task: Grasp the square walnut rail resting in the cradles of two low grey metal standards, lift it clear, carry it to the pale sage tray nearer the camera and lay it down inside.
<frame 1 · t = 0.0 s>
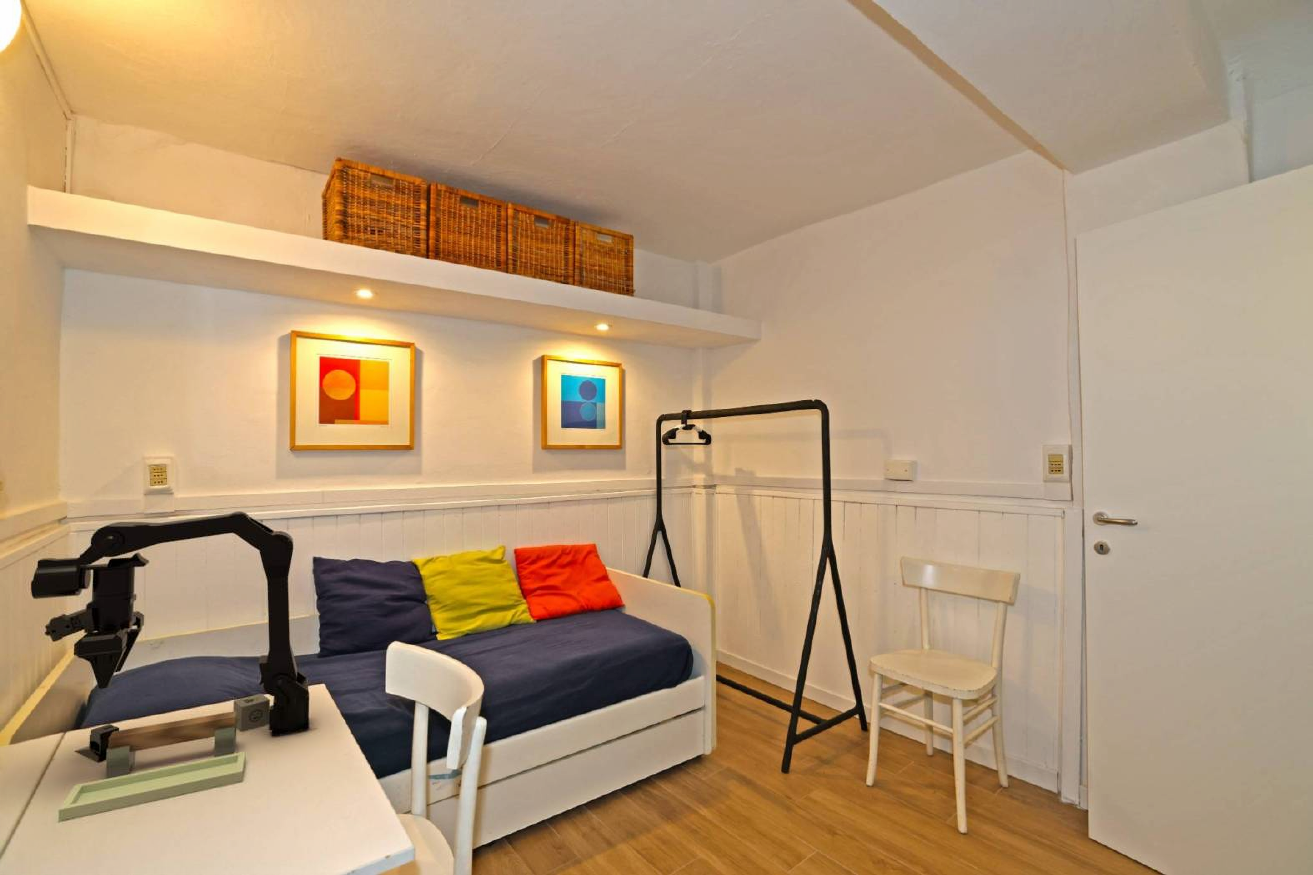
hand: (110, 679, 110), 15 cm above the table, fingers open, 9 cm apart
standard a: (225, 750, 115), on the table
rail: (175, 740, 111), point 3 cm above the table, touching standard a, standard b
tray: (160, 788, 102), on the table
standard b: (120, 770, 107), on the table
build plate: (104, 754, 114), on the table
dice cube: (251, 725, 126), on the table
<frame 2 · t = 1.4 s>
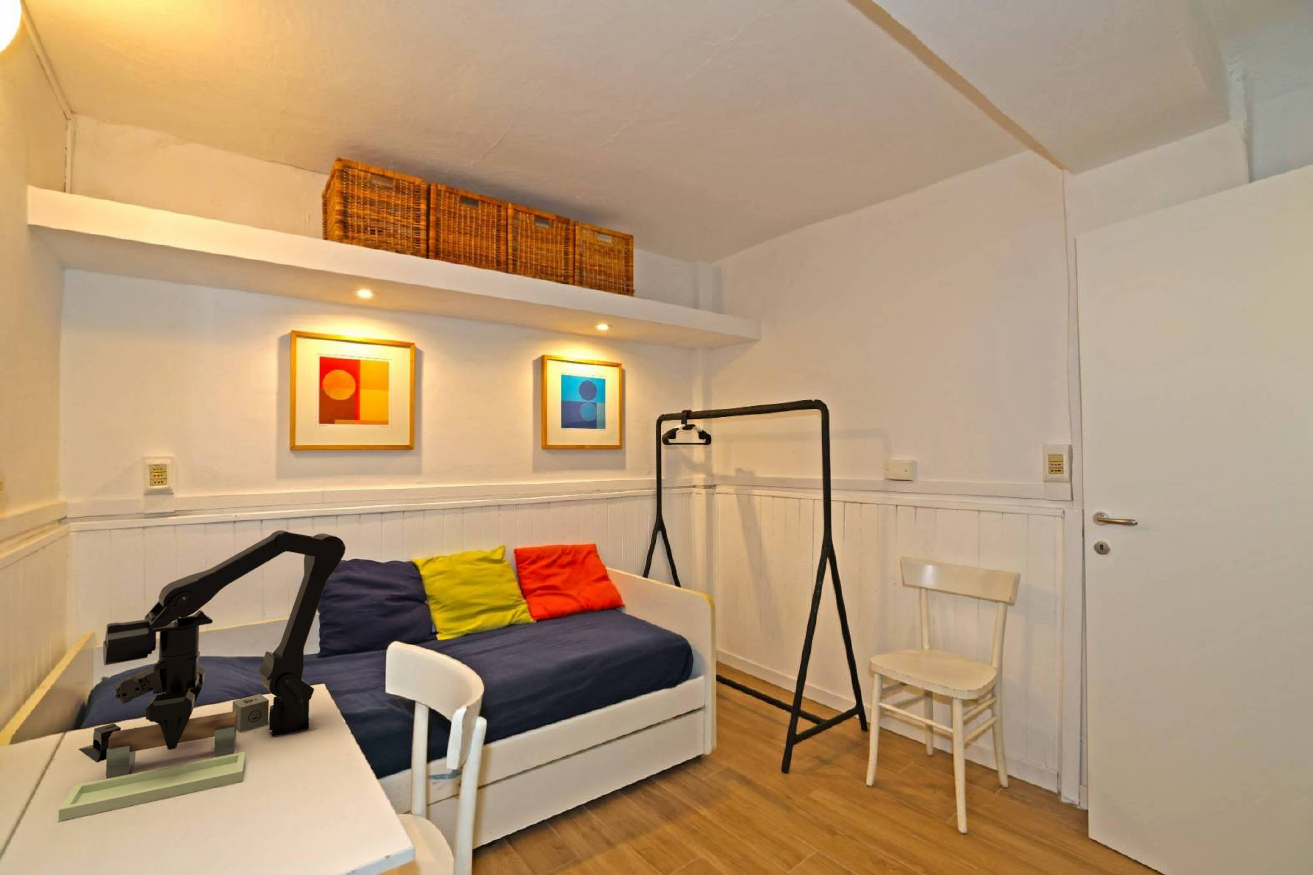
hand: (176, 738, 111), 4 cm above the table, fingers open, 9 cm apart
nothing on the table moved.
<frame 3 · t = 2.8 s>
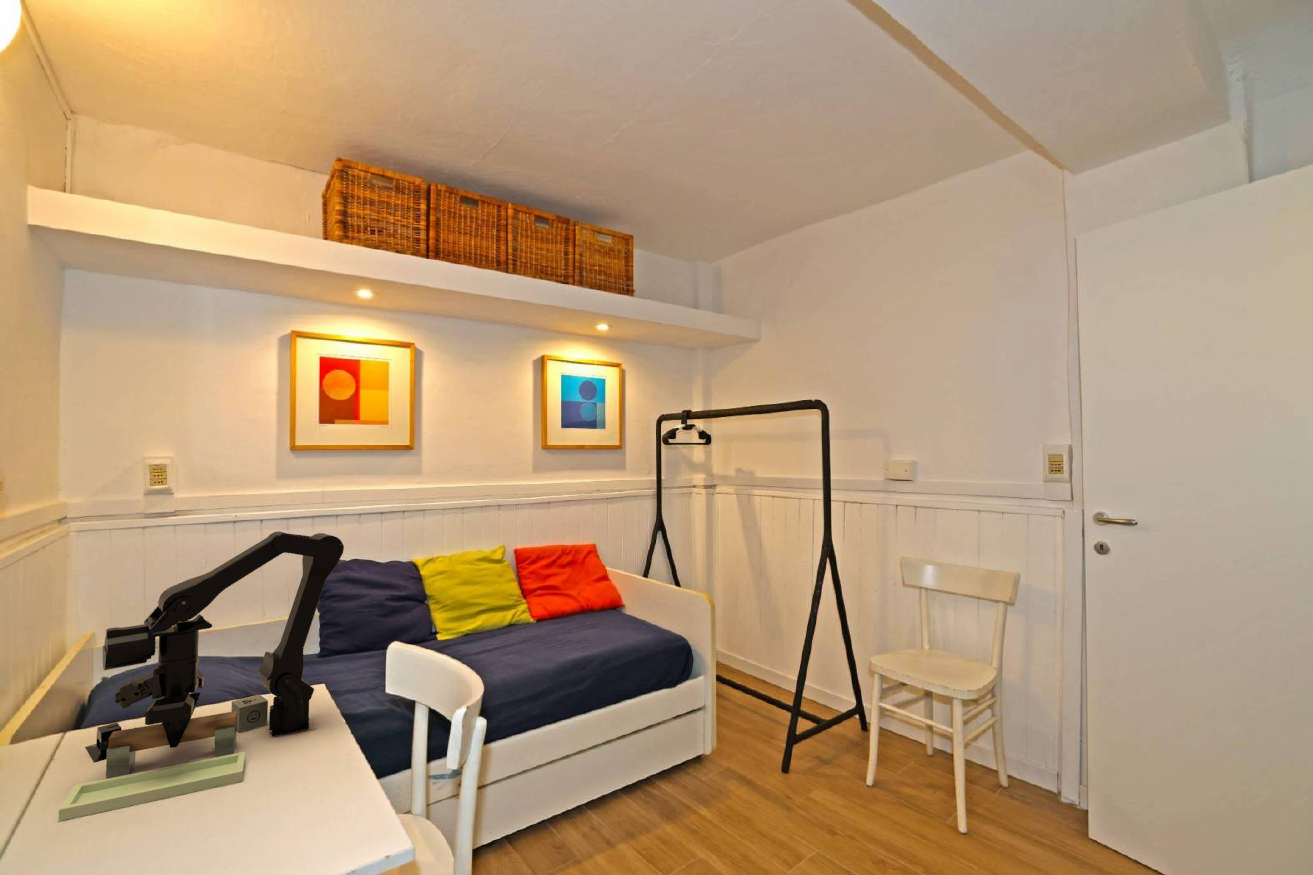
hand: (175, 743, 111), 3 cm above the table, fingers closed on rail, 3 cm apart
rail: (175, 740, 111), point 3 cm above the table, touching gripper, standard a, standard b
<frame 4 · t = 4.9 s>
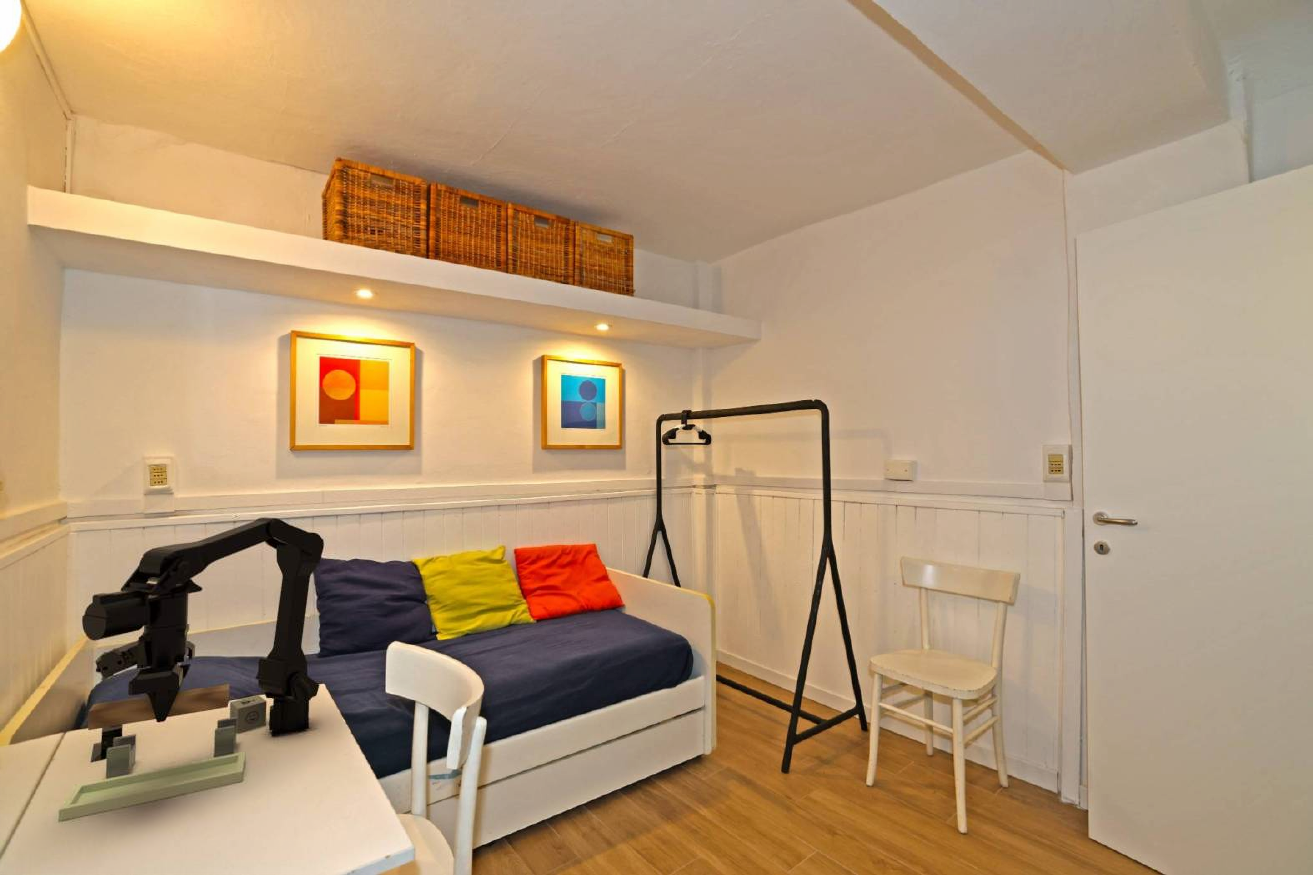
hand: (163, 717, 102), 12 cm above the table, fingers closed on rail, 3 cm apart
rail: (162, 714, 102), point 12 cm above the table, touching gripper
when the fingers open (2 cm above the table, at t = 7.1 s): rail drops 2 cm, resting on tray.
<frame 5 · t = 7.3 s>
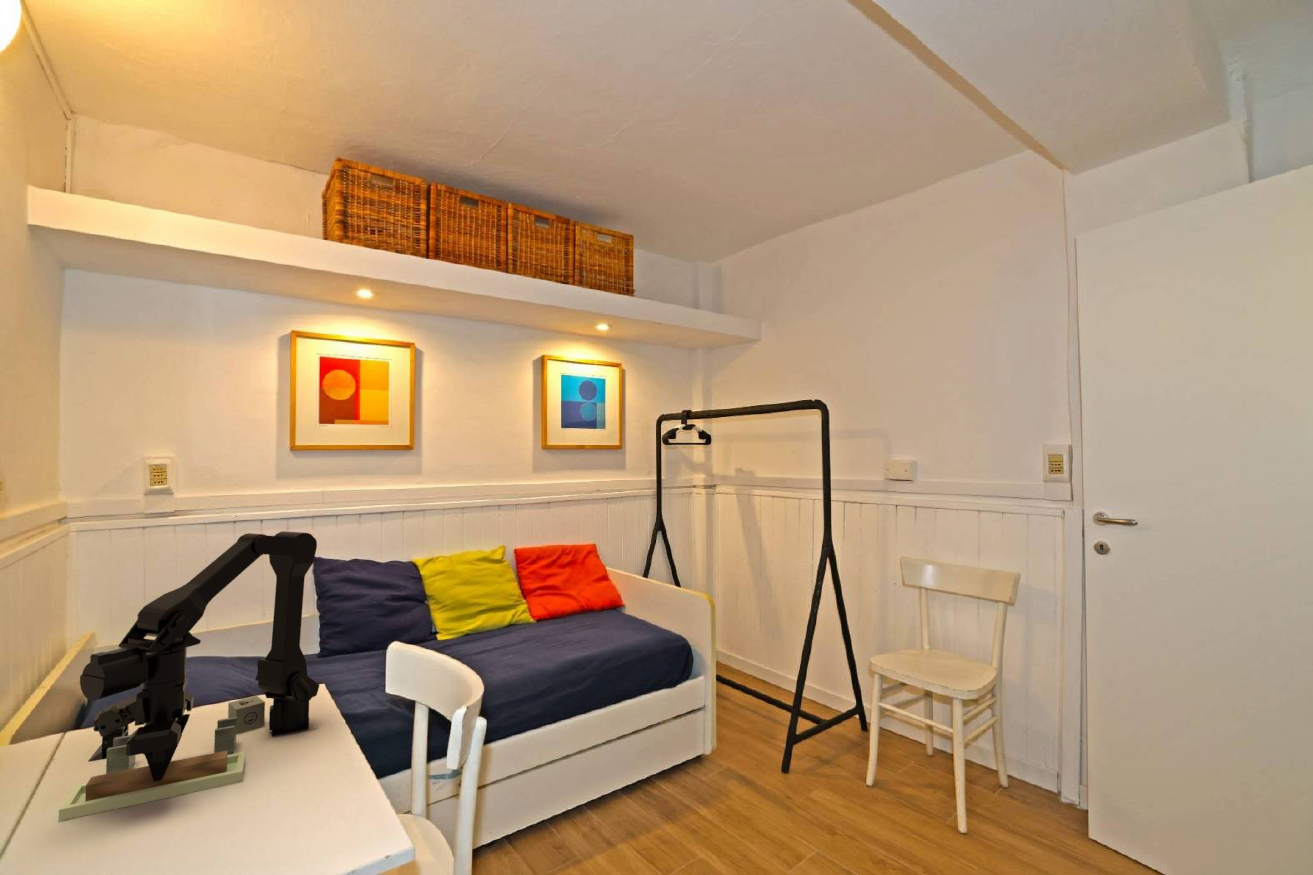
hand: (161, 772, 102), 2 cm above the table, fingers open, 5 cm apart
rail: (160, 785, 102), resting on tray
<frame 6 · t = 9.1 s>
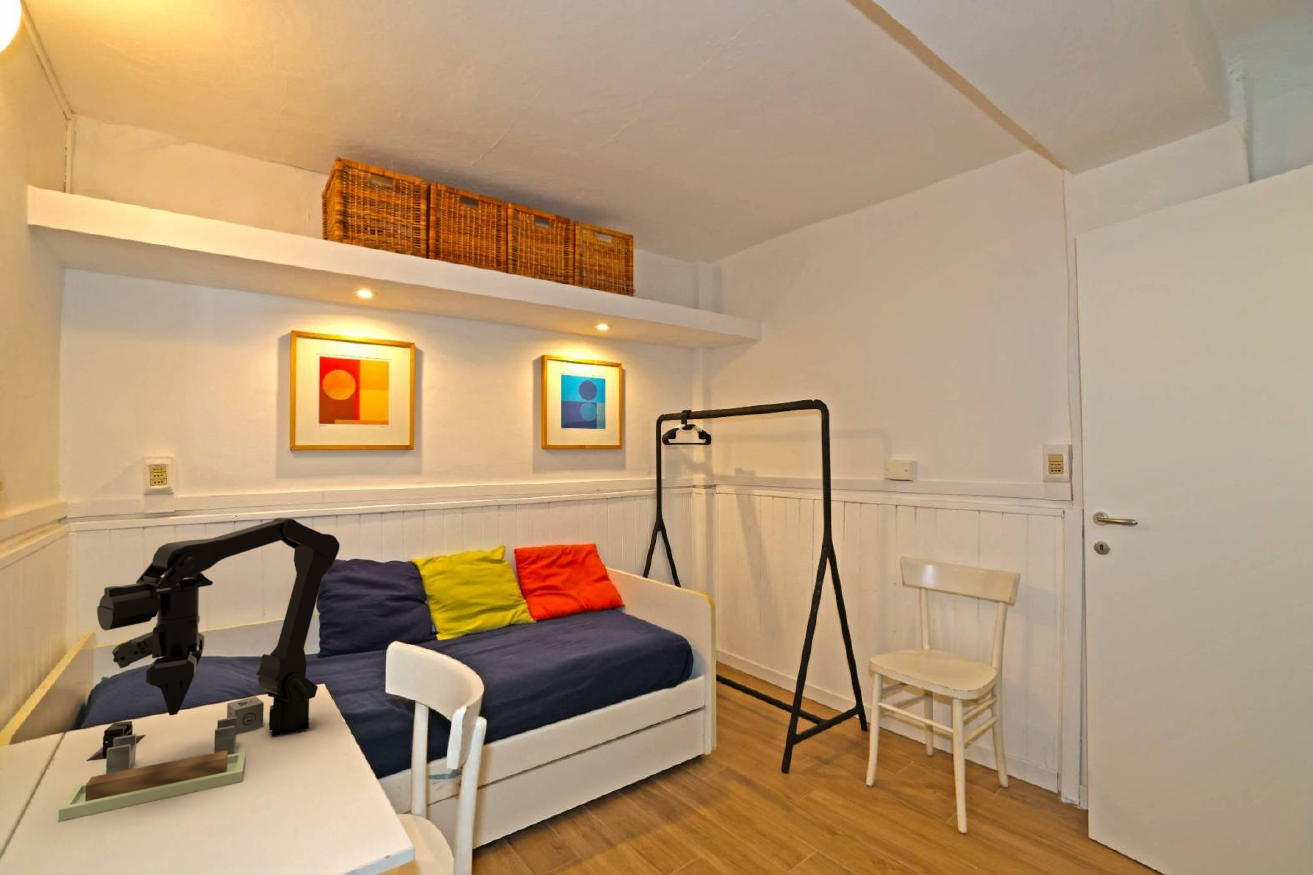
hand: (177, 704, 107), 12 cm above the table, fingers open, 9 cm apart
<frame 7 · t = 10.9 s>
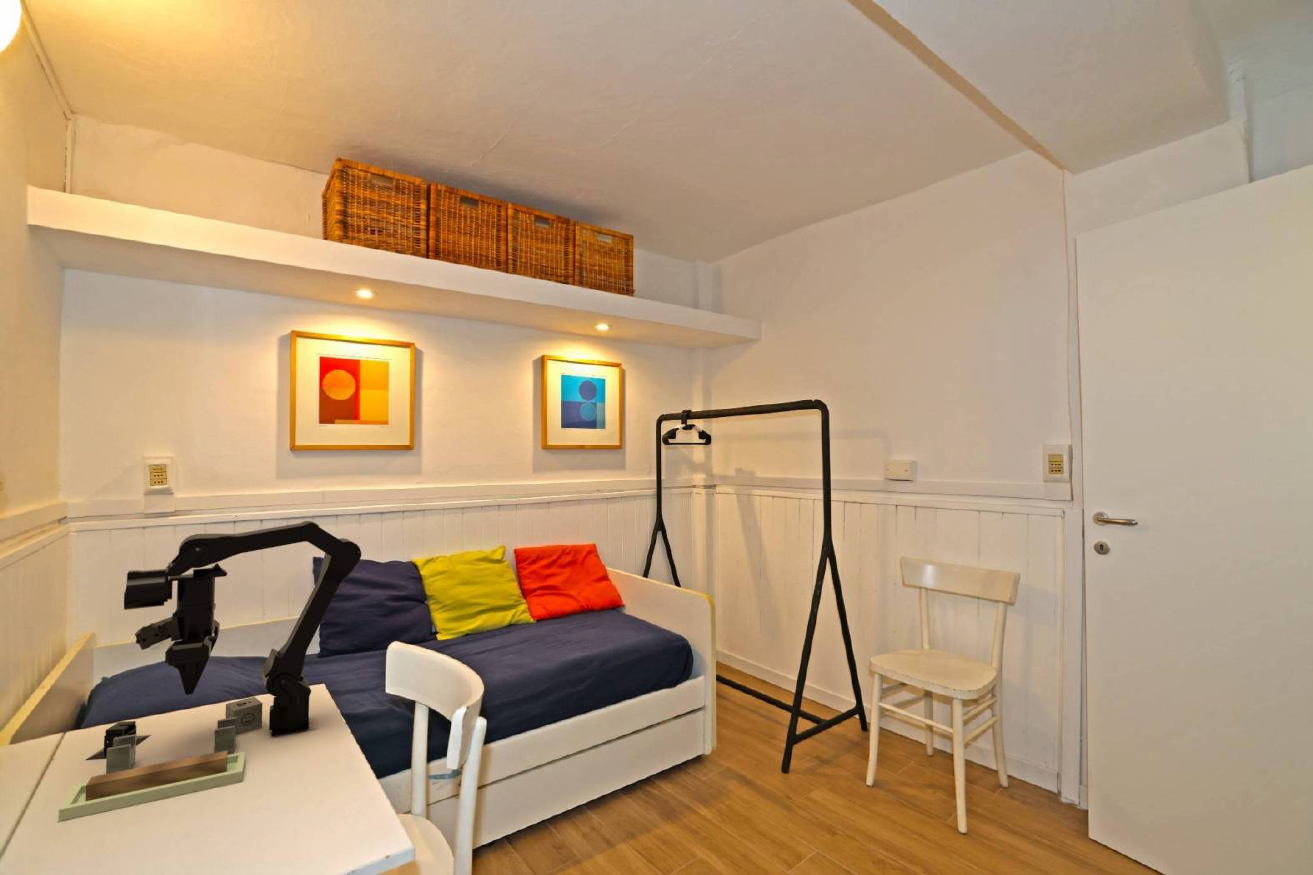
hand: (193, 685, 115), 12 cm above the table, fingers open, 9 cm apart
at the end: rail 0.1 cm off-centre on the tray, point 0.5 cm above the tray's base; rail point 0.5 cm above the table; the gripper is holding nothing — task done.
